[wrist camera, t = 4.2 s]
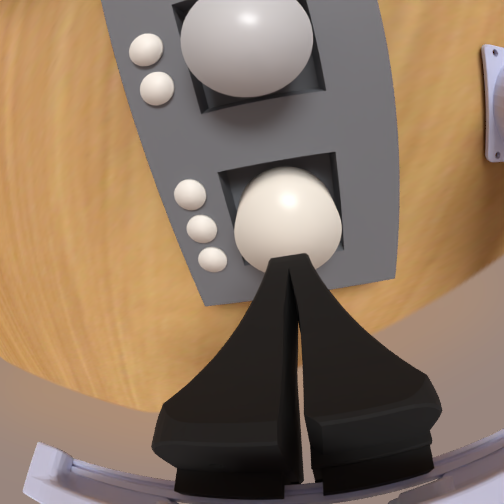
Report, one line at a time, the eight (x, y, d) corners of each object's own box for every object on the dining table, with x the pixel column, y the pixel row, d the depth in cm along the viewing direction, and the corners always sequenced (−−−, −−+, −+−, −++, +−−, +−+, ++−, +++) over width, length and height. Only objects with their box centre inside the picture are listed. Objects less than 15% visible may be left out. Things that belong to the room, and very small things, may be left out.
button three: (327, 159, 14) (337, 175, 12) (336, 243, 16) (344, 268, 14) (227, 176, 14) (222, 195, 13) (250, 257, 17) (247, 282, 15)
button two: (292, -14, 9) (297, -28, 7) (315, 83, 12) (324, 86, 10) (183, 9, 10) (168, 1, 8) (208, 103, 12) (197, 110, 10)
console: (300, -138, 4) (305, -162, 2) (381, 250, 20) (396, 280, 17) (106, -92, 6) (82, -107, 4) (211, 276, 22) (204, 308, 19)
